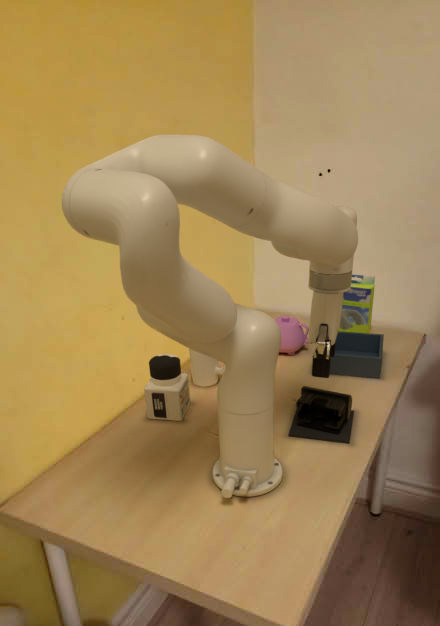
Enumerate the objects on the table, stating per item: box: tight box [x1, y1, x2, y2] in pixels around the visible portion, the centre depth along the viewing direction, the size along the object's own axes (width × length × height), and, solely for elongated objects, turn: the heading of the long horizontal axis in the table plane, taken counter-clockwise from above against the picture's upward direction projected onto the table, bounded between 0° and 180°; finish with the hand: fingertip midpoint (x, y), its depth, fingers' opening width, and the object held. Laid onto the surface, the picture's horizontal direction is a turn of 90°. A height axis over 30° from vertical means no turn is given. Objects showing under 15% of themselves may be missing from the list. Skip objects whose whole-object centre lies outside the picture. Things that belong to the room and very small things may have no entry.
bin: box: [329, 331, 385, 380], centre depth 134 cm, size 15×16×5 cm
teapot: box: [273, 314, 310, 356], centre depth 142 cm, size 10×15×9 cm
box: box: [338, 273, 376, 333], centre depth 145 cm, size 10×4×17 cm, turn 64°
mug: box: [188, 348, 226, 388], centre depth 127 cm, size 10×7×12 cm, turn 61°
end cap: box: [294, 385, 353, 434], centre depth 110 cm, size 10×7×7 cm
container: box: [143, 353, 191, 422], centre depth 115 cm, size 8×8×13 cm
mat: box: [287, 404, 355, 445], centre depth 111 cm, size 12×12×1 cm
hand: (323, 366), depth 104 cm, fingers open, 9 cm apart
